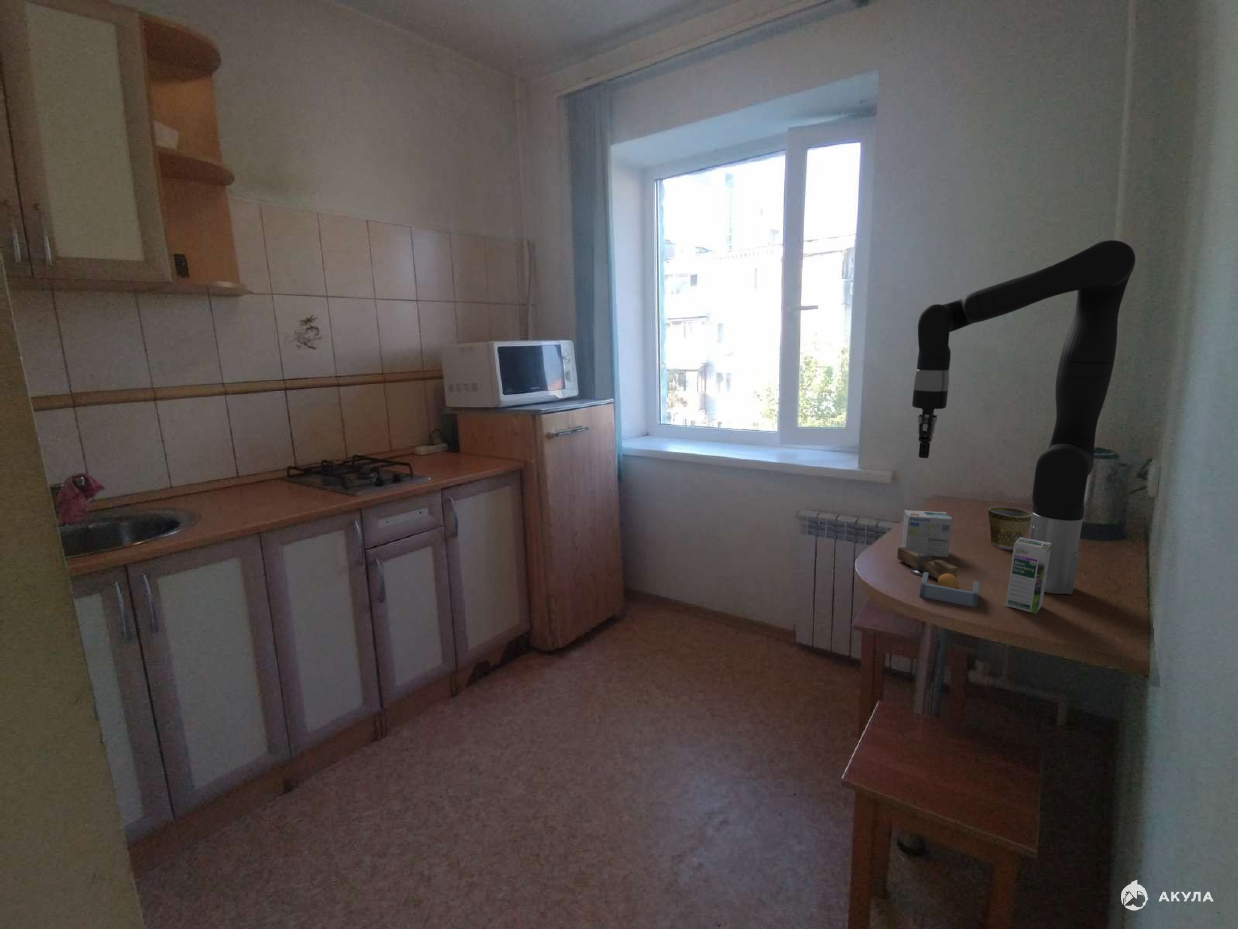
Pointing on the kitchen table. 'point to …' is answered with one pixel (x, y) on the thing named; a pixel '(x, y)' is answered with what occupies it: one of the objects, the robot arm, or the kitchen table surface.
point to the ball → (948, 581)
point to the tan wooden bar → (925, 563)
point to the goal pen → (949, 593)
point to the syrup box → (1028, 574)
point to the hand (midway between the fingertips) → (923, 457)
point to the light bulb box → (927, 532)
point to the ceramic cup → (1007, 525)
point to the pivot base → (917, 572)
